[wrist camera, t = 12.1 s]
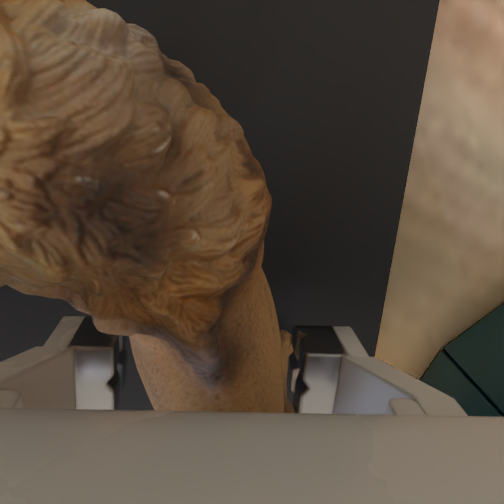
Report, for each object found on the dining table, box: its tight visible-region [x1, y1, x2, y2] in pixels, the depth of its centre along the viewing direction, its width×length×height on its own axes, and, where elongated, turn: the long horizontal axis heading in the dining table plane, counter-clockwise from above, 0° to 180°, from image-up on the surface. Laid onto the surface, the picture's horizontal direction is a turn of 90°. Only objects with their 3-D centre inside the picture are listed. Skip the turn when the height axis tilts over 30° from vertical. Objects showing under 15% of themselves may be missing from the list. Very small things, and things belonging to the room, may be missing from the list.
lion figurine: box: [0, 0, 294, 413], centre depth 10 cm, size 15×5×9 cm, turn 21°
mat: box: [0, 0, 439, 413], centre depth 15 cm, size 13×21×1 cm, turn 175°
